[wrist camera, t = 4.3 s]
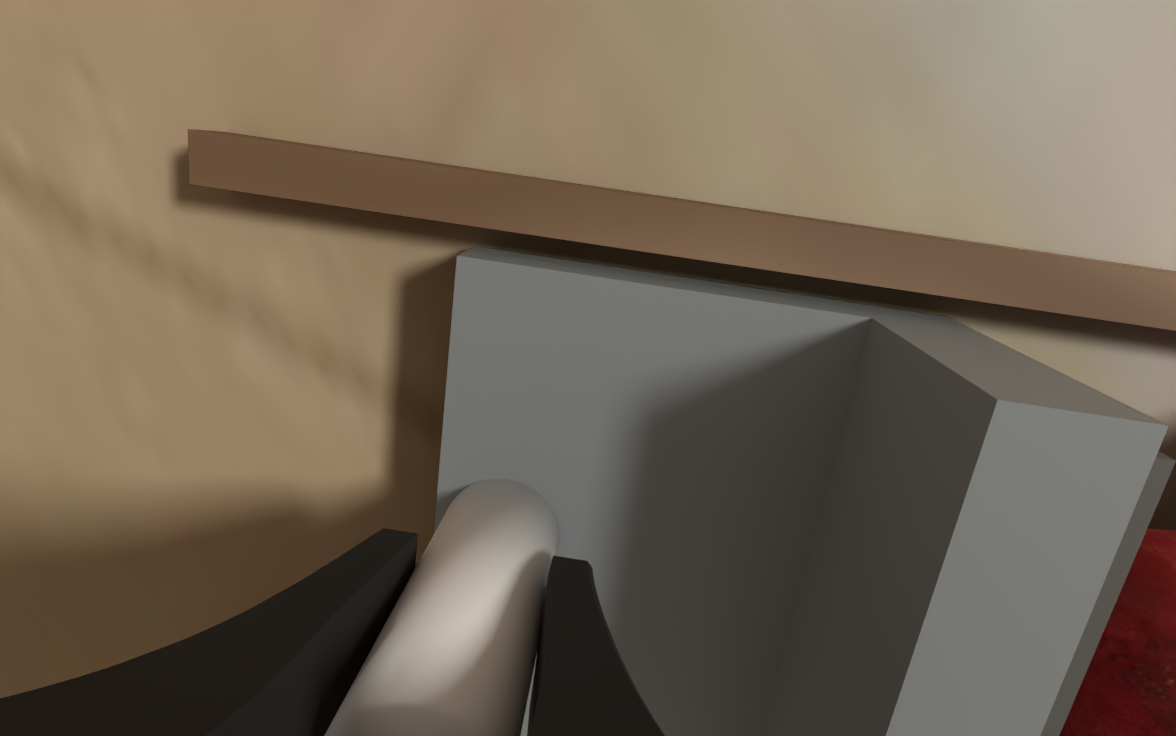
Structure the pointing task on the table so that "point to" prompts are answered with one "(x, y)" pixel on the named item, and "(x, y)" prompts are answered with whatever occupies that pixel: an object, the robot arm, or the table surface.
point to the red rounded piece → (1135, 653)
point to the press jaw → (760, 512)
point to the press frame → (685, 228)
